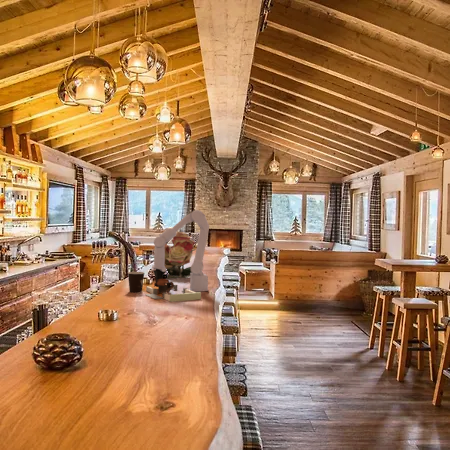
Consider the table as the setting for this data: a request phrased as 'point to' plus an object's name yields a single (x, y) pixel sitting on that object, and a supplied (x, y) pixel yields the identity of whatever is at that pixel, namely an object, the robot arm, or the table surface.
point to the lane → (174, 295)
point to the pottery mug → (163, 285)
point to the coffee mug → (135, 281)
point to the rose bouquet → (179, 255)
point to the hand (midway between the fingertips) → (158, 283)
